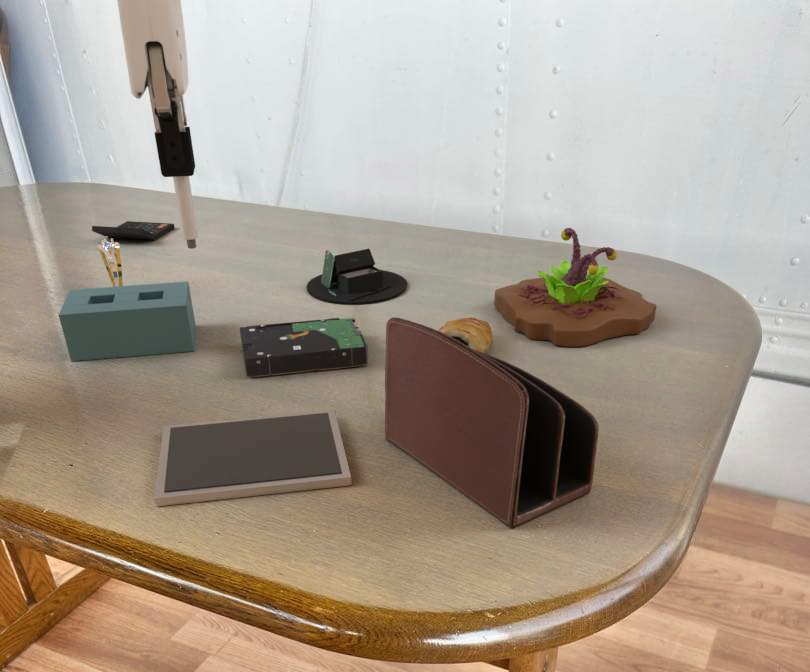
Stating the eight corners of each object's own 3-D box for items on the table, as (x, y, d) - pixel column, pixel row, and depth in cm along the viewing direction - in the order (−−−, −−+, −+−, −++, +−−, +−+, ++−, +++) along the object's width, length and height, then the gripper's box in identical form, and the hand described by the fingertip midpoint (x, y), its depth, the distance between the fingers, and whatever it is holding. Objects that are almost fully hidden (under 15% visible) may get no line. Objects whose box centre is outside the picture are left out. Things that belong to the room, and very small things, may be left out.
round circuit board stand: (373, 264, 130) (372, 229, 126) (426, 290, 120) (426, 252, 116) (289, 282, 123) (285, 245, 120) (338, 312, 113) (335, 272, 110)
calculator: (174, 228, 148) (171, 211, 146) (144, 247, 139) (140, 229, 137) (128, 225, 150) (124, 209, 148) (95, 244, 141) (90, 226, 139)
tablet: (156, 507, 74) (154, 496, 73) (165, 434, 85) (163, 424, 85) (352, 485, 77) (351, 475, 76) (335, 417, 88) (334, 408, 87)
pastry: (453, 330, 107) (454, 302, 105) (502, 337, 105) (504, 309, 103) (429, 357, 100) (429, 328, 98) (481, 366, 98) (483, 335, 96)
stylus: (184, 250, 86) (161, 113, 78) (184, 245, 87) (162, 110, 79) (199, 249, 86) (178, 112, 78) (200, 245, 87) (179, 109, 80)
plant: (588, 283, 121) (597, 204, 115) (676, 327, 107) (692, 240, 100) (471, 304, 115) (474, 222, 108) (548, 355, 100) (557, 263, 94)
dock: (194, 351, 103) (186, 305, 99) (71, 361, 100) (58, 314, 97) (195, 325, 110) (188, 281, 106) (80, 334, 108) (69, 289, 104)
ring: (133, 301, 118) (121, 244, 113) (110, 304, 117) (97, 247, 112) (126, 286, 123) (114, 232, 118) (104, 289, 122) (91, 234, 117)
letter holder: (510, 531, 70) (522, 381, 62) (383, 440, 83) (379, 307, 75) (592, 493, 75) (614, 350, 67) (459, 413, 88) (463, 285, 80)
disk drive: (247, 381, 96) (370, 366, 98) (243, 359, 94) (369, 344, 96) (241, 347, 104) (355, 334, 106) (238, 326, 102) (353, 313, 105)
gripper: (110, -51, 77) (147, 159, 88) (86, -51, 65) (133, 193, 75) (190, -52, 78) (218, 156, 89) (182, -52, 66) (215, 190, 76)
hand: (178, 171), depth 82 cm, fingers closed on stylus, 1 cm apart
